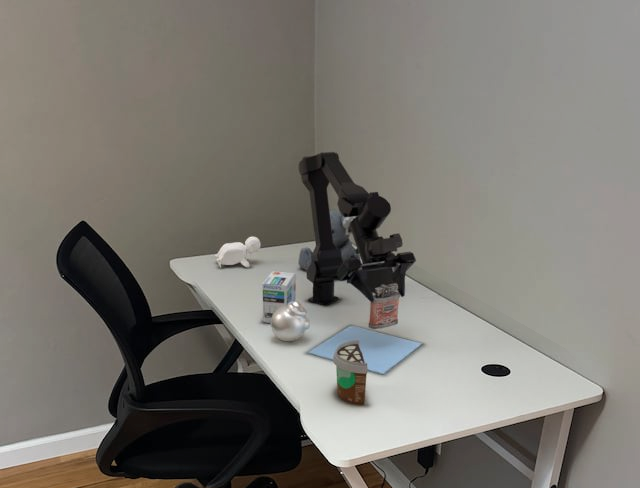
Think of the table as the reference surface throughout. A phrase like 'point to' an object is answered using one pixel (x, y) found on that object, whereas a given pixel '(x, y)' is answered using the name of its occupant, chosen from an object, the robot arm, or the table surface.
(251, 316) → the table surface
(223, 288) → the table surface
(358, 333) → the blue square mat
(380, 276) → the pen holder
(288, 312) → the silver rounded lump
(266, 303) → the light bulb box
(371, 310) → the lighter
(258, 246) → the white turtle figurine
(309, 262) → the koala plush
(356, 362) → the food container
